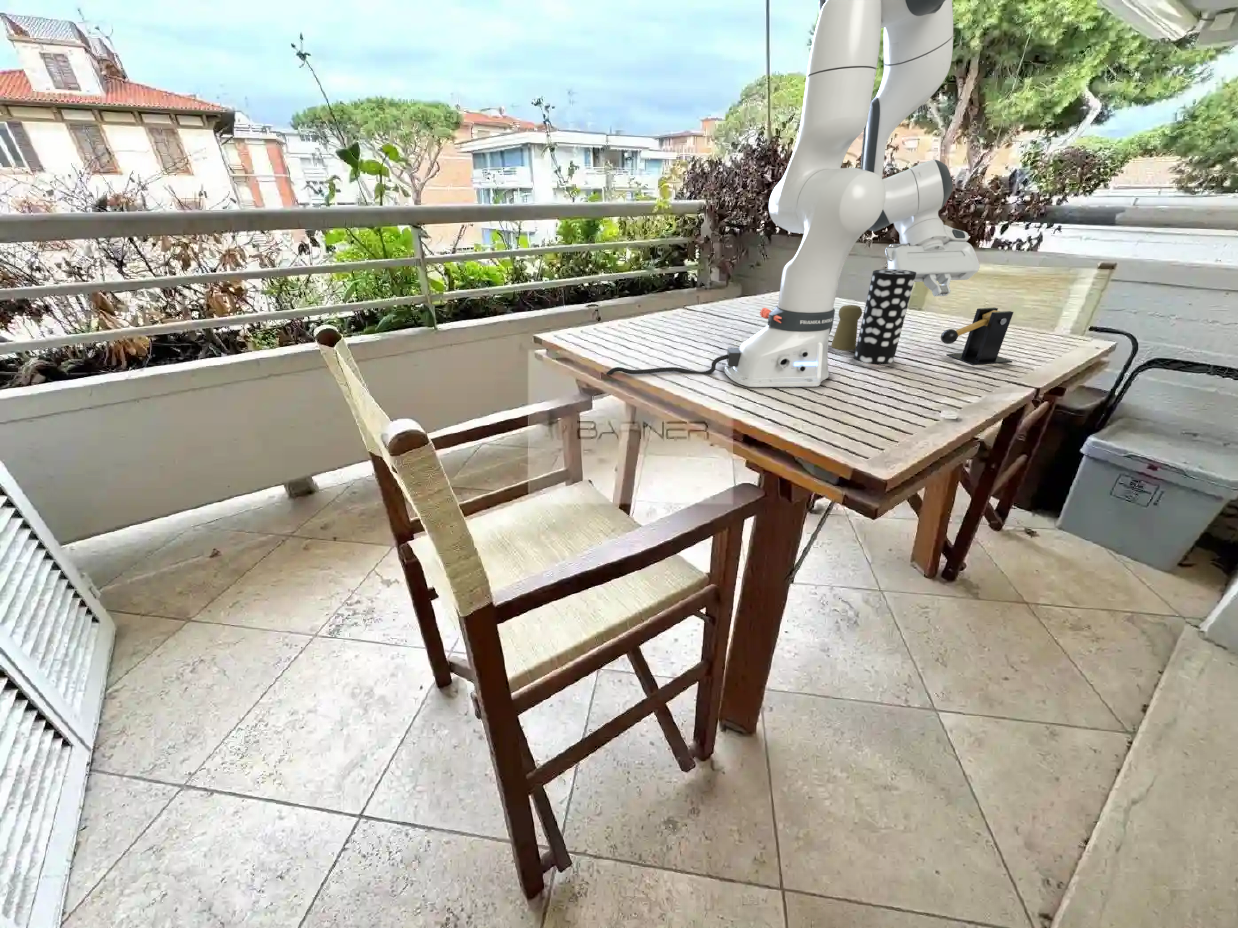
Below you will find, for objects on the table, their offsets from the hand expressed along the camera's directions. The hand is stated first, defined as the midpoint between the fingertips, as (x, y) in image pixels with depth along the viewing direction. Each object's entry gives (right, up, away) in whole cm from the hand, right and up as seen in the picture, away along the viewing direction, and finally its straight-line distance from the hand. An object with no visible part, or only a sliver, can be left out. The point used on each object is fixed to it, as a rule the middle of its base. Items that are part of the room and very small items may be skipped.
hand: (942, 294), depth 108 cm
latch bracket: (+10, -14, +4) cm, 18 cm away
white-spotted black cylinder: (-13, -14, +5) cm, 20 cm away
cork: (-16, -9, +15) cm, 23 cm away
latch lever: (+6, -9, 0) cm, 11 cm away
